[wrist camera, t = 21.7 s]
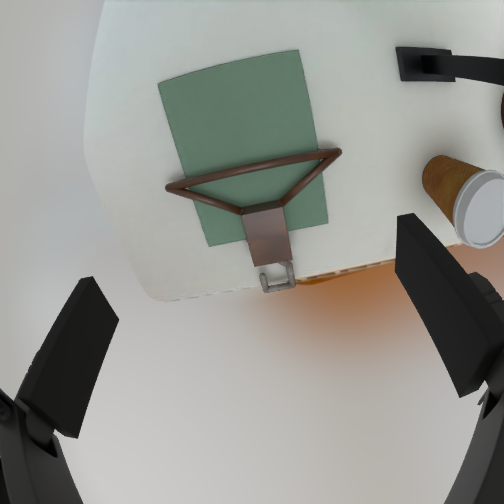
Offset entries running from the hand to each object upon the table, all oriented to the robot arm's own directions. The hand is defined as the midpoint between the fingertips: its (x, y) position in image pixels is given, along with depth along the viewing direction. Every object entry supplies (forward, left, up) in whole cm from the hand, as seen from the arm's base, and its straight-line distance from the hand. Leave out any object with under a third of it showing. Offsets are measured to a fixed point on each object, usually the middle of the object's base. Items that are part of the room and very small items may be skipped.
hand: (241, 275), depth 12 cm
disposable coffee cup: (+25, +10, -26) cm, 37 cm away
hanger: (+1, -2, -24) cm, 24 cm away
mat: (+1, -1, -26) cm, 26 cm away
